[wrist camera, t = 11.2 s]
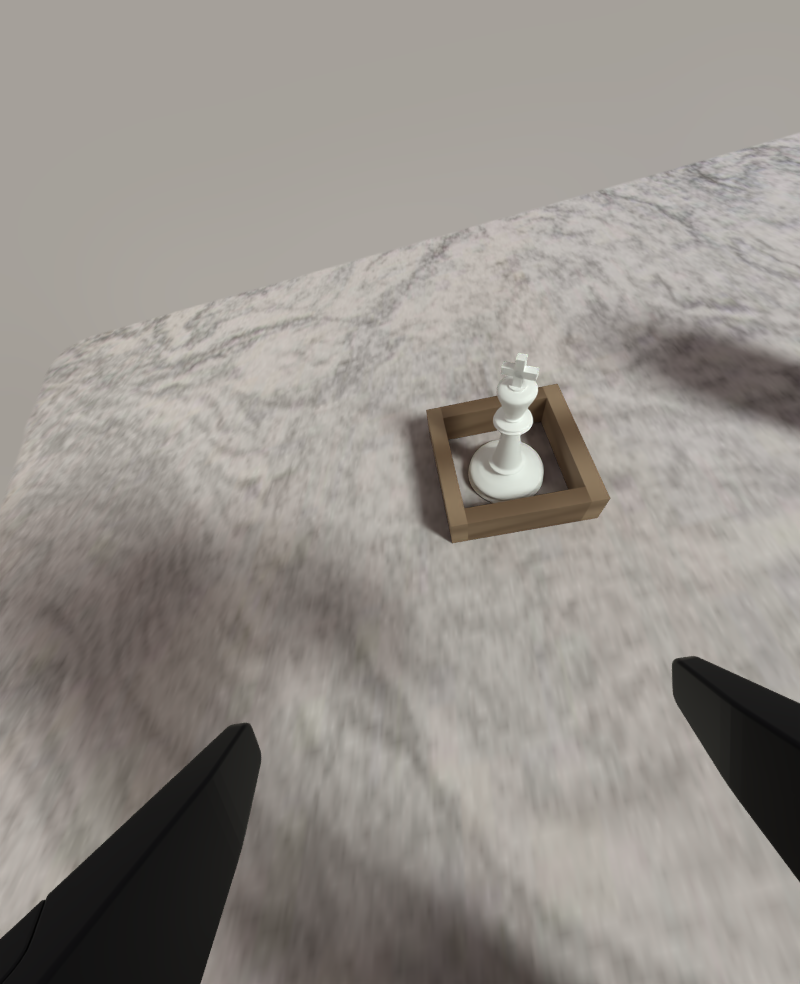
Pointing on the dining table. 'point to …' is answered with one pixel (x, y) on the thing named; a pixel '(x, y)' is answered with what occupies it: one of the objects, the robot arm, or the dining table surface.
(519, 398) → the chess piece
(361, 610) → the dining table surface
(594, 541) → the dining table surface
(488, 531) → the socket frame
